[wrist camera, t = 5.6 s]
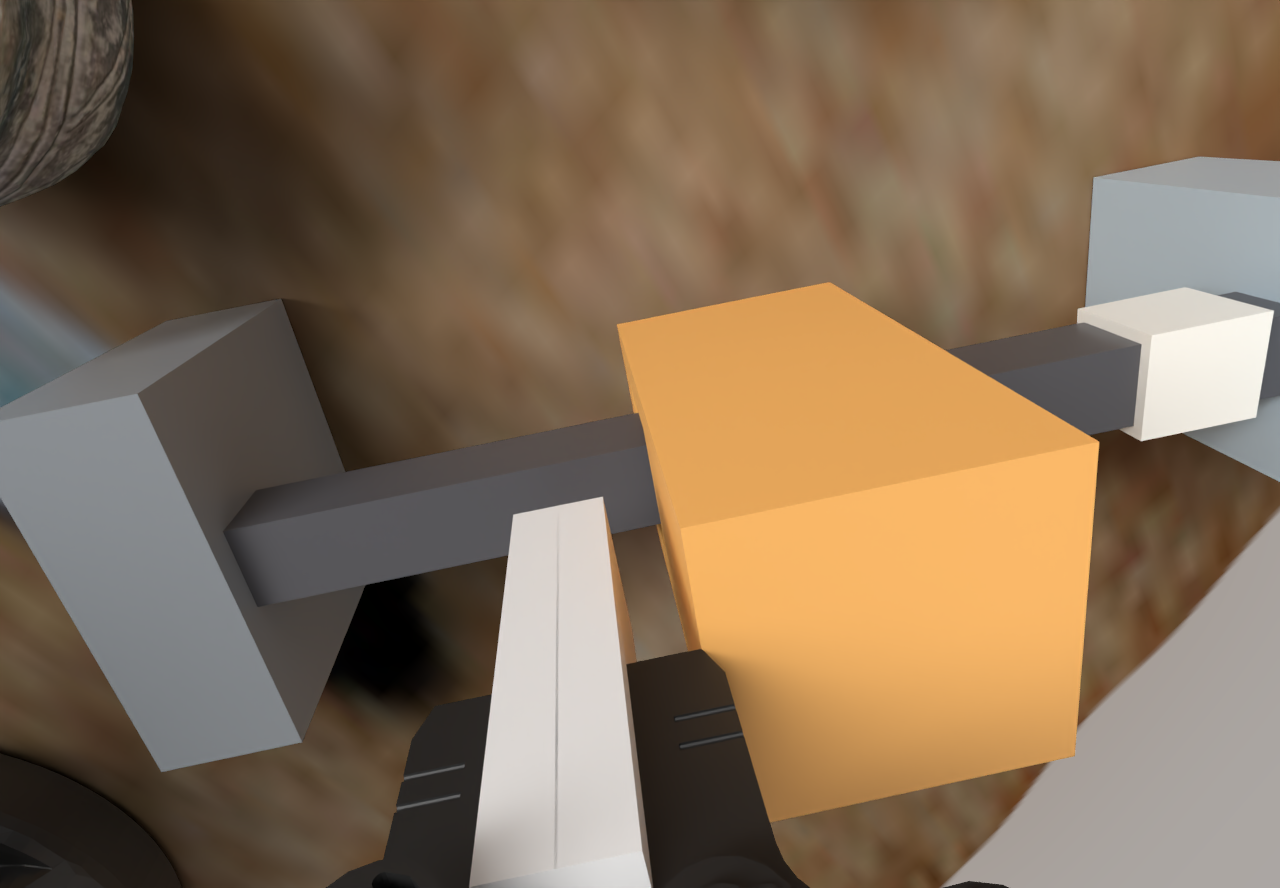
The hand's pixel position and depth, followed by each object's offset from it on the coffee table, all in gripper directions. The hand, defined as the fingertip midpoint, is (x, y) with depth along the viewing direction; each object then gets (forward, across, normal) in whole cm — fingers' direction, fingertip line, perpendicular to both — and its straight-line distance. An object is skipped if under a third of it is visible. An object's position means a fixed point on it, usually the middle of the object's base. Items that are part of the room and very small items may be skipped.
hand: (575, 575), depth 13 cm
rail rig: (+10, +4, 0) cm, 10 cm away
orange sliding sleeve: (+6, +4, 0) cm, 7 cm away
